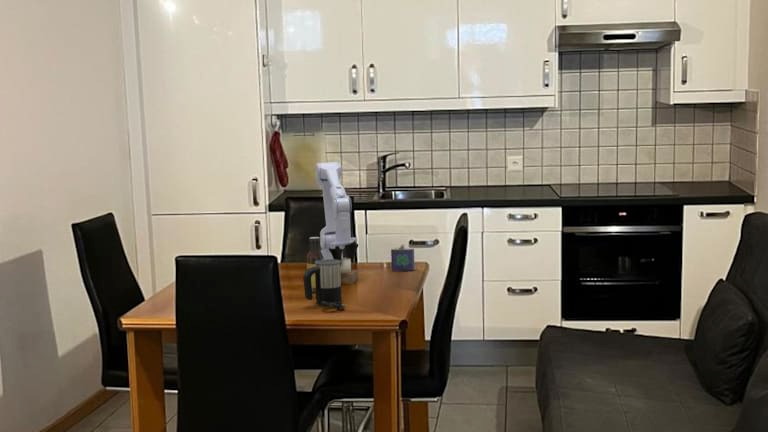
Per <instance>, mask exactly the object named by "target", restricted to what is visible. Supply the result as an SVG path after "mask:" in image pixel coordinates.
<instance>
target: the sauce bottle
mask: <svg viewBox="0 0 768 432" xmlns="http://www.w3.org/2000/svg"><path fill="white" fill-rule="evenodd" d="M308 242H309V252H308V253H307V255H306V262H307V263H306V270H307V269H308V268H311V267H316V264H315V261H318V260H324V258H323V255H322V252H321V250H322V249H321V245H320V236H311V237H309V238H308ZM311 283H312V293H316V284H315V273H314V274H313V275H312V277H311Z"/></svg>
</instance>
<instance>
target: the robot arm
mask: <svg viewBox="0 0 768 432" xmlns="http://www.w3.org/2000/svg"><path fill="white" fill-rule="evenodd" d="M314 167H315V180H316V184H317V185H320V186H321V189H322V195H323V196H322V197H323V208H324V217H325V227H323V228H322V229H321V230H320V232H319V237H320V250H321V252H322V255H323V258H324V260H325V259H335V260H340V261H341V258H344V257H343V256H344V255H343V253H344V249H345V251H346V258H350V259H351V264H352V263H354V260H355V255H356V252H357V250H358V248H359V243H358V237H352V233H351V231H352V230H351V212H352V206H353V205H352V200H351V197H350V196H349V195H347V192H346V190H345V187H344V185H342V184H341V178H342V177H341V176H342V174H343V173H342V172H343V170H342V169H343V167H342V163H341V162H340V161H333V162H332V161H331V162H316V164H315V166H314ZM340 266H341V263H340Z"/></svg>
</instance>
